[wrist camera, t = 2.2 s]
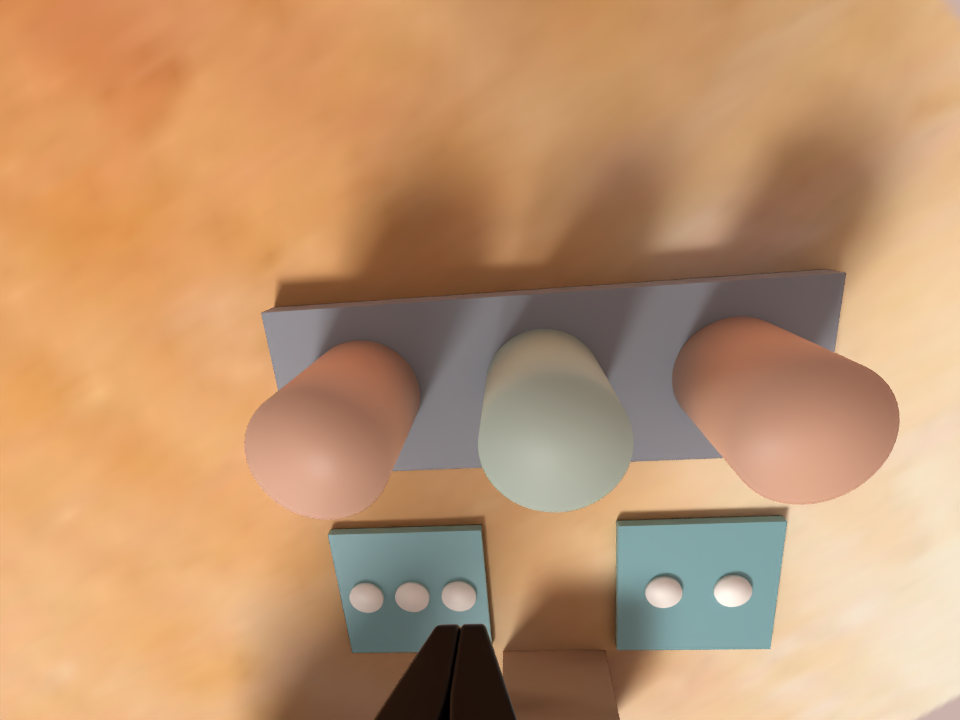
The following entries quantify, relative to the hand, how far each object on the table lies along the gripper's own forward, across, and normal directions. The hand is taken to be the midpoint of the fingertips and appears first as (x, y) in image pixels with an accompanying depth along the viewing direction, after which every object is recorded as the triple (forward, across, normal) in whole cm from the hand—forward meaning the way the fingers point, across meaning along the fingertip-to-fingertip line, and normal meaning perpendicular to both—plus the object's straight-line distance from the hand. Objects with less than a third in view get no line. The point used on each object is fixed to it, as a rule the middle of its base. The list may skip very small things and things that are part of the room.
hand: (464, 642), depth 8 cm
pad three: (+12, +5, +10) cm, 16 cm away
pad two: (+12, -8, +10) cm, 18 cm away
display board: (+12, -2, 0) cm, 12 cm away
